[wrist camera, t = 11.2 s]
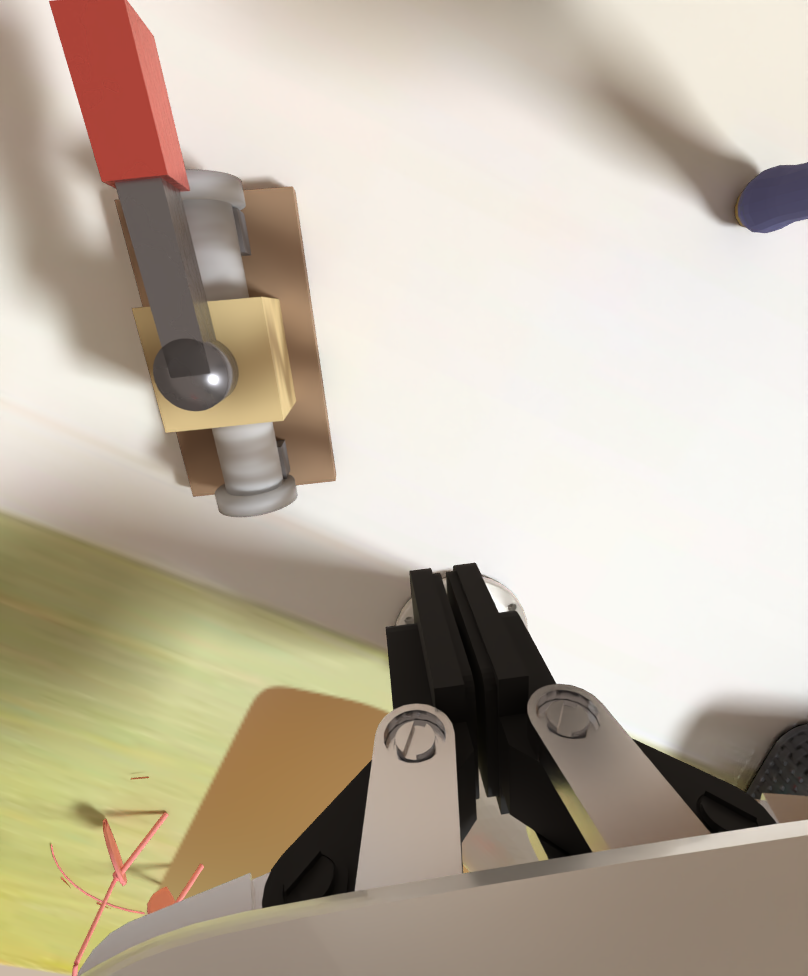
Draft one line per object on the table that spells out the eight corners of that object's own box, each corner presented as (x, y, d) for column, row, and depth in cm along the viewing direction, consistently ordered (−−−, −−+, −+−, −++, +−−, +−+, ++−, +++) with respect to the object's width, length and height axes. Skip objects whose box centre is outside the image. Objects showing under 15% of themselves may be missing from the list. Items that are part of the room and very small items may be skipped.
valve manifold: (336, 474, 39) (330, 520, 30) (199, 489, 38) (154, 540, 30) (295, 192, 31) (273, 149, 23) (125, 204, 31) (39, 165, 22)
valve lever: (246, 397, 27) (233, 407, 24) (182, 405, 27) (162, 416, 24) (162, 35, 21) (133, -7, 18) (80, 42, 21) (38, 1, 18)
